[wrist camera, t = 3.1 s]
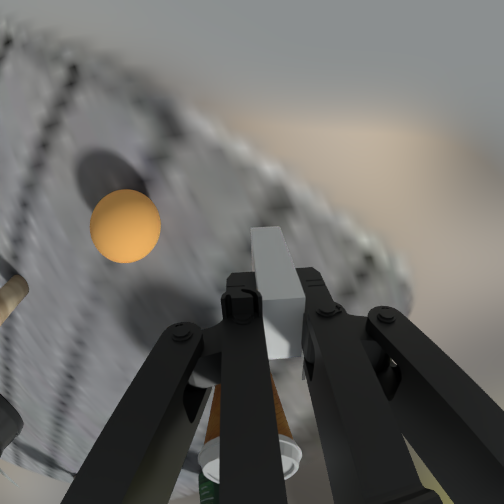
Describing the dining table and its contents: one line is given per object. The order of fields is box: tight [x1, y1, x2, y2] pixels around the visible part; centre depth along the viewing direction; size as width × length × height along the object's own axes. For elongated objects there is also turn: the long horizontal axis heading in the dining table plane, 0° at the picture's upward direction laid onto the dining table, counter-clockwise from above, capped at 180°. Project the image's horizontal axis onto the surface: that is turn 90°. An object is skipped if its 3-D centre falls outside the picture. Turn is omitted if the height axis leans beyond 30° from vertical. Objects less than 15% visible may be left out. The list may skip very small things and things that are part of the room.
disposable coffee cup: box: [198, 372, 302, 483], centre depth 27 cm, size 10×10×12 cm
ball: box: [90, 189, 161, 263], centre depth 21 cm, size 6×6×6 cm
